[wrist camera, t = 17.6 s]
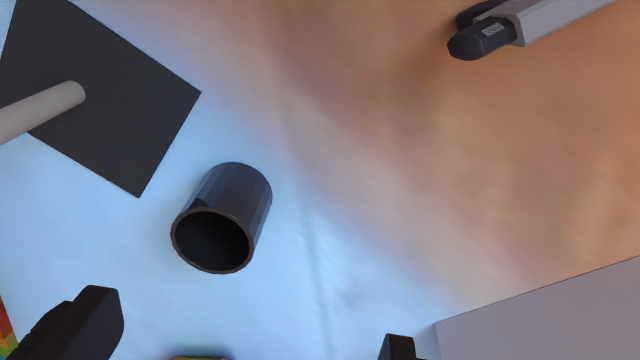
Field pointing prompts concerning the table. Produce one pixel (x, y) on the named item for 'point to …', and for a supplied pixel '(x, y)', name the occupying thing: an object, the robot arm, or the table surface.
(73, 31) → the desk mat
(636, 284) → the red-lidded white box
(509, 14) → the gun
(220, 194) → the pen holder
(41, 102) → the marker
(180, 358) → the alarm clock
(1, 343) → the chart
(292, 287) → the table surface
